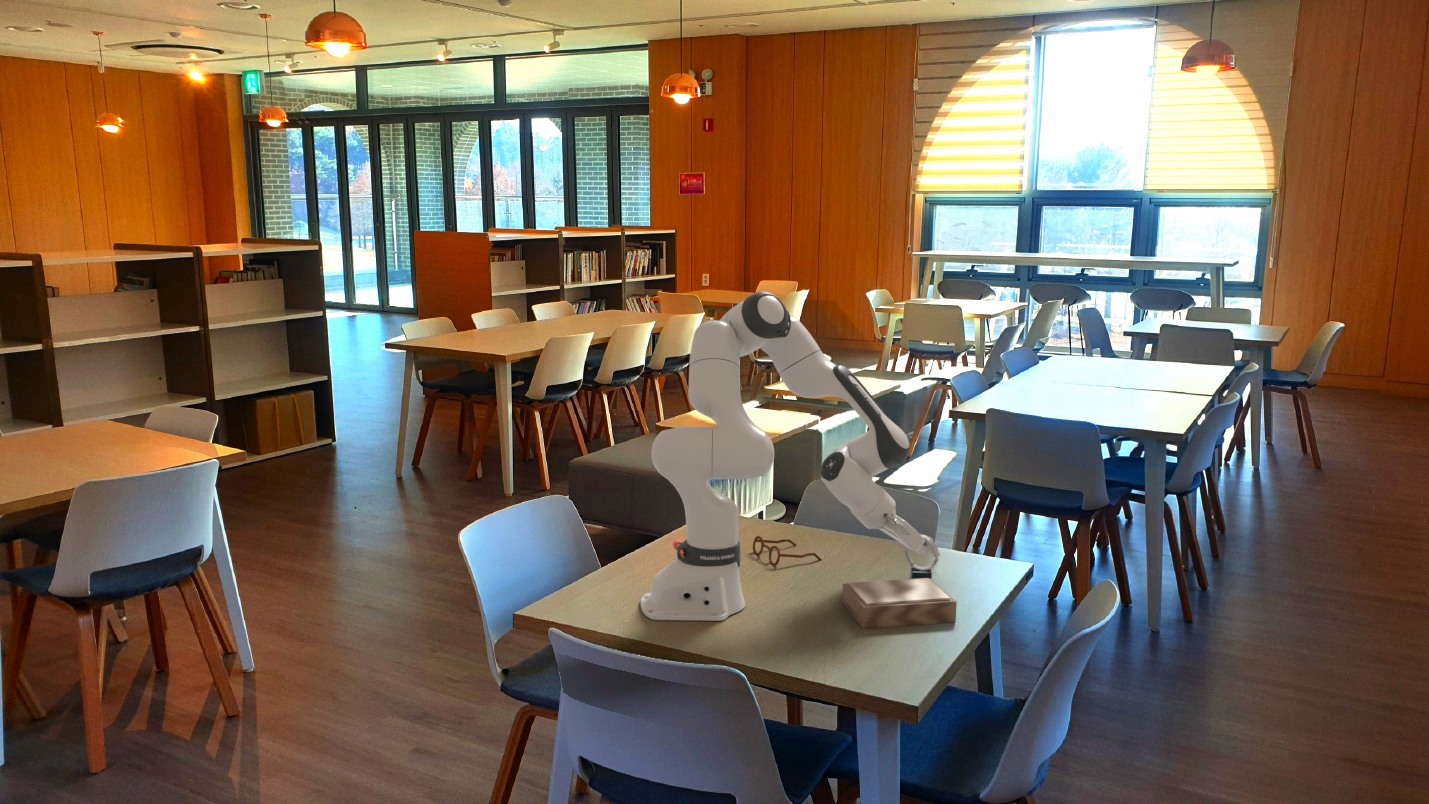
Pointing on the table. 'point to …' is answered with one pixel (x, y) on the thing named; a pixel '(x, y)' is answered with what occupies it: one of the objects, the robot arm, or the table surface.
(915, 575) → the watch
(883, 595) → the display riser
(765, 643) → the table surface
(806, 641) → the table surface
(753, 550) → the glasses
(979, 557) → the table surface
